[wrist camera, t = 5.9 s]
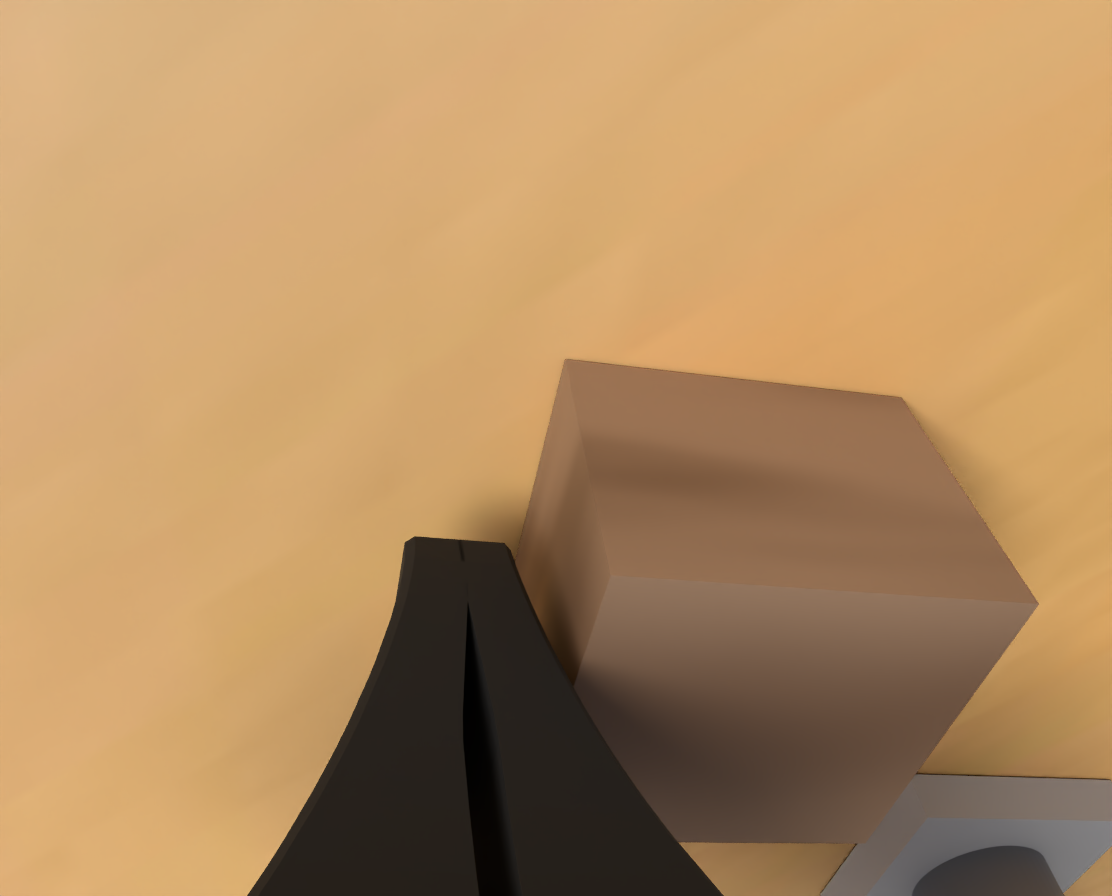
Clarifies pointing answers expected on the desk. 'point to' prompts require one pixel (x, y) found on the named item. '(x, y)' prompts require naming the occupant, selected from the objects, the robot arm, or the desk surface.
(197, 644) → the desk surface
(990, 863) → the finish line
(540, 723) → the robot arm
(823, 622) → the walnut block
